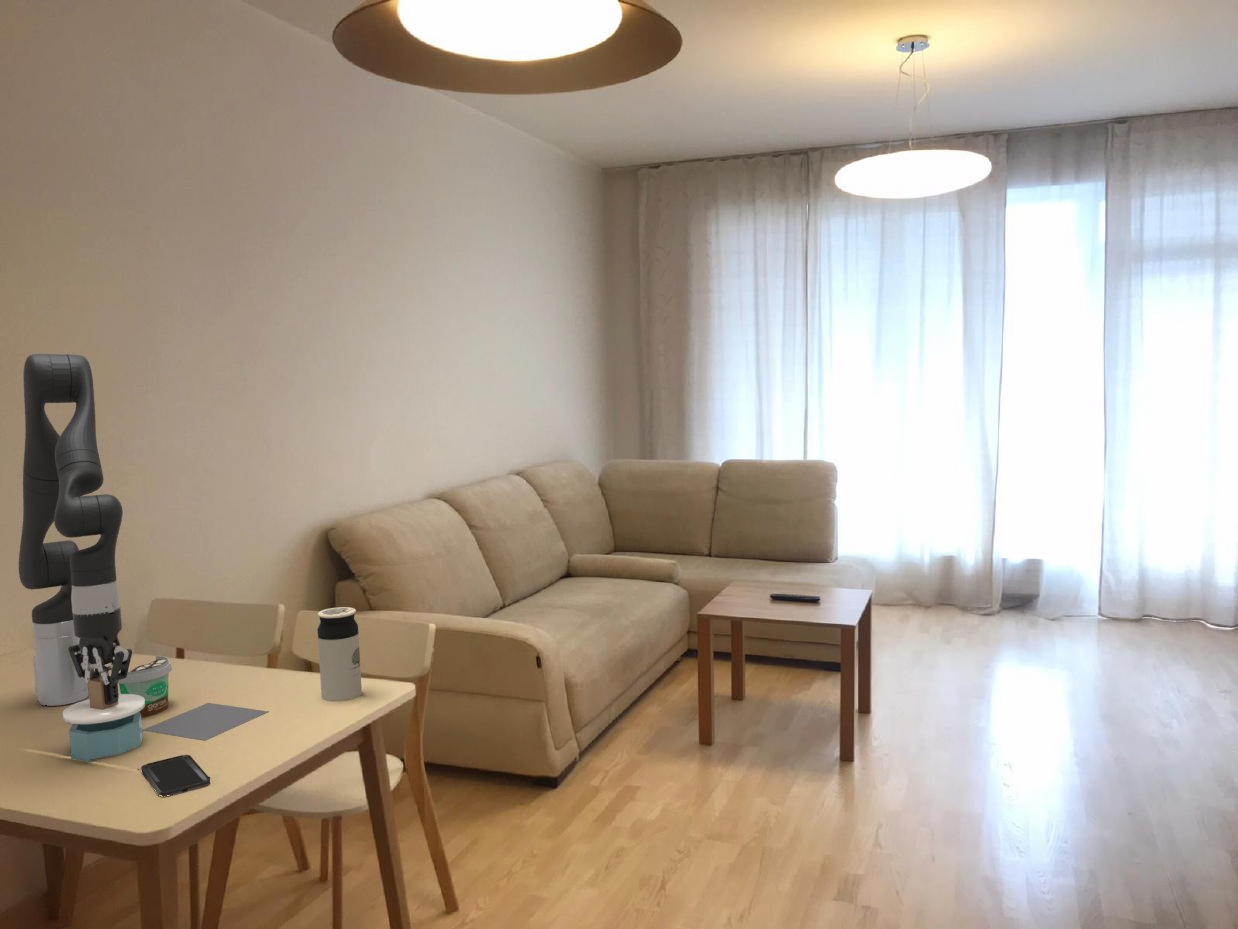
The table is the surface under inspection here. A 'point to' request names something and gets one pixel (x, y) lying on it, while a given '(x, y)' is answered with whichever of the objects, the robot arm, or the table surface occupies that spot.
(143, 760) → the table surface
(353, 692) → the travel mug
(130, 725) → the bowl
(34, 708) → the table surface
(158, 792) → the phone
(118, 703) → the lid
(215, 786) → the table surface
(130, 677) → the food container
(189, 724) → the mat
